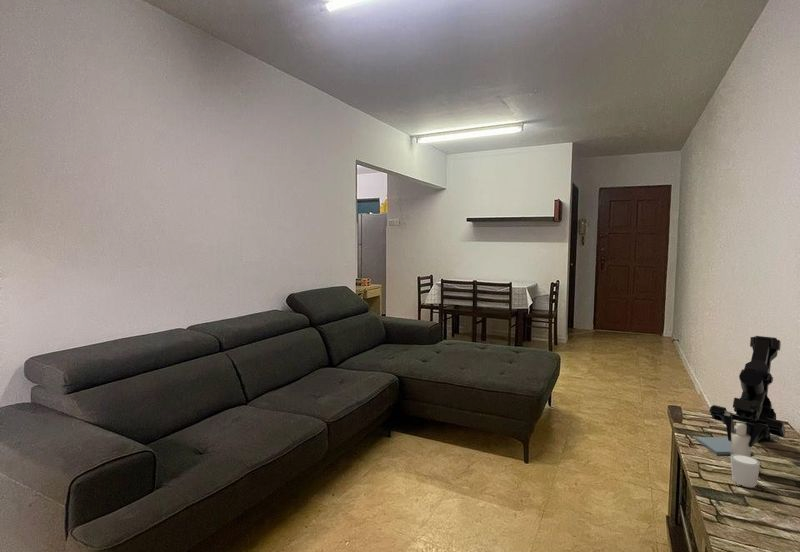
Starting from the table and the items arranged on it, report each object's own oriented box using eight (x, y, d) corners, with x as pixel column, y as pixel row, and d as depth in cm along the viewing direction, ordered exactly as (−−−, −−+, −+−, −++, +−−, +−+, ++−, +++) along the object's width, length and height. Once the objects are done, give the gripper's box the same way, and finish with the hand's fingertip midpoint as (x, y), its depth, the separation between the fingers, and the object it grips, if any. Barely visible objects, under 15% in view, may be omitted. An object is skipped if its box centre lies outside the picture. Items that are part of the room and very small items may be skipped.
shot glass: (765, 489, 123) (765, 466, 122) (737, 487, 124) (738, 464, 124) (750, 477, 129) (751, 454, 129) (724, 475, 131) (725, 452, 130)
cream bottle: (742, 458, 140) (743, 421, 139) (754, 466, 135) (755, 427, 134) (726, 458, 140) (727, 421, 139) (737, 466, 135) (738, 427, 134)
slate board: (730, 440, 154) (730, 437, 154) (753, 454, 143) (753, 451, 143) (695, 439, 154) (695, 437, 154) (716, 454, 144) (716, 451, 143)
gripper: (712, 381, 146) (698, 421, 140) (784, 395, 131) (772, 441, 125) (719, 398, 151) (707, 438, 145) (790, 414, 136) (779, 459, 130)
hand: (739, 443), depth 136 cm, fingers closed on cream bottle, 5 cm apart
